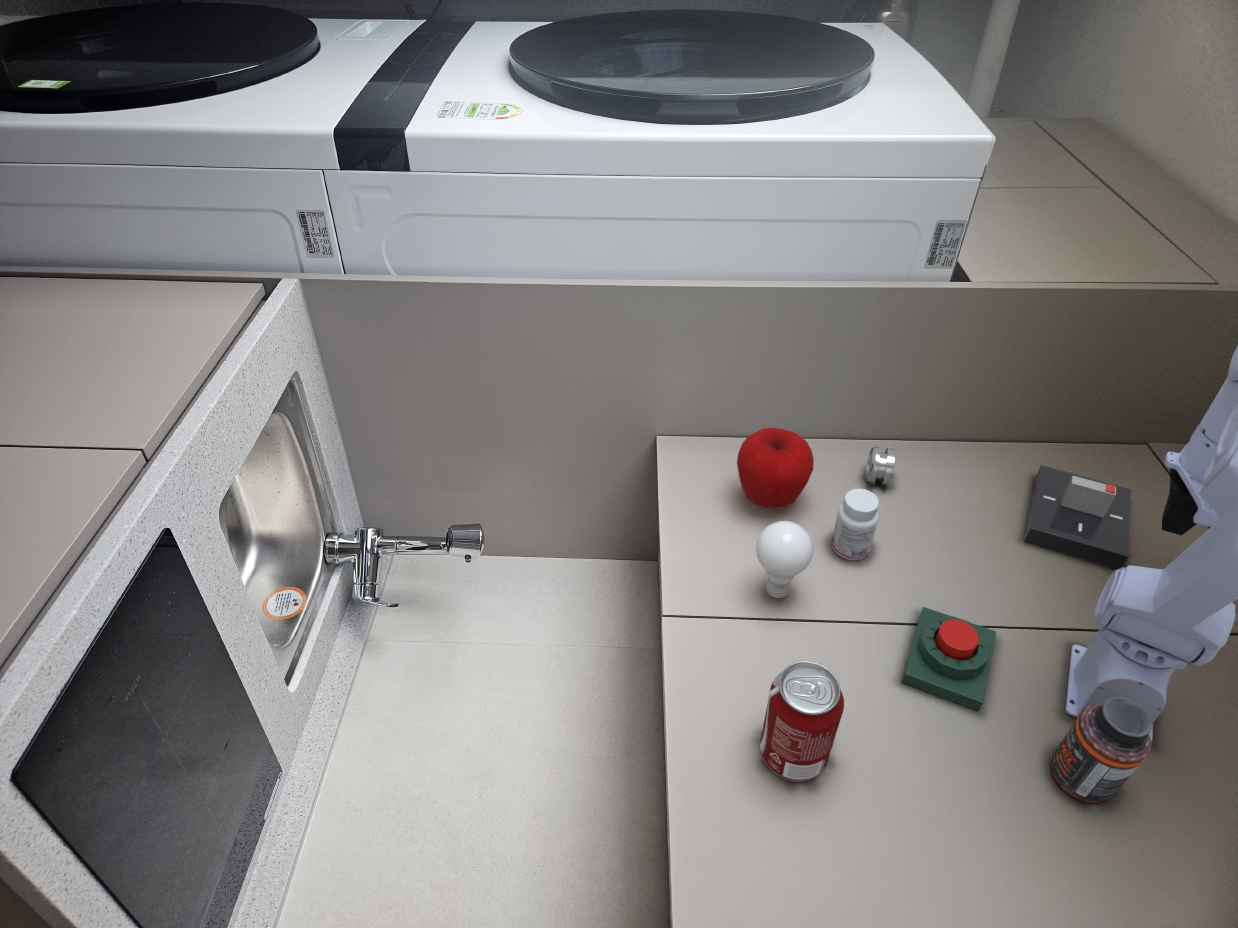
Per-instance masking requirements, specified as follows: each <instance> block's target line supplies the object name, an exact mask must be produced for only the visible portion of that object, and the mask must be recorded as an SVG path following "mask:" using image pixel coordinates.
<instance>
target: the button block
mask: <svg viewBox="0 0 1238 928" xmlns="http://www.w3.org/2000/svg"><path fill="white" fill-rule="evenodd" d="M948 620H960V621H963V622H965V623H967V624H969V625H970V626H972V627H973V628H974V629H975V631H976V632H977V634H978V637H979V642H978V645H977V647H976V649H975V651H974V653H973V655H972V656H971V657H969V658H967V659H964V660H957V659H953V658H950V657H948V656H946V655H945V654H943V653H942V652H941V651H940V650H939V648H938V646H937V644H936V636H937V633H938V631H939V629H940V626H941V625H942V624H943V623H944V622H945V621H948ZM996 636H997V631H996V630H993V629H990V628H987V627H984V626H981V625H978V624H976V623H973V622H970V621H968V620H965V619H963V618H960V617H956V616H954V615H949V614H946V613H943V612H940V611H938V610H934V609H931V608H929V607H926V606H922V609H921V611H920V613H919V617H918V620H917V624H916V627H915V631H914V635H913V638H912V642H911V645H910V649H909V653H908V657H907V660H906V664H905V667H904V671H903V675H902V679H901V683H903V684H905V685H908V686H910V687H912V688H915V689H919V690H921V691H924V692H926V693H928V694H931V695H934V696H937V697H939V698H942V699H944V700H948V701H950V702H952V703H955V704H959V705H961V706H964V707H966V708H969V709H972V710H974V711H976V712H979V711H980V709H981V708H982V706H983V704H984V700H985V695H986V689H987V683H988V678H989V673H990V668H991V664H992V663H991V662H992V657H993V651H994V646H995V641H996Z"/></svg>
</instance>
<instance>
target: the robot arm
mask: <svg viewBox="0 0 1238 928" xmlns="http://www.w3.org/2000/svg"><path fill="white" fill-rule="evenodd" d="M1164 465H1165V466H1166V467H1167V468H1169V491H1168V495H1167V499H1166V503H1165V506H1164V509H1163V513H1162V517H1161V531H1164V532H1167V533H1170V534H1174V535H1178V536H1183V535H1185V534H1187V533H1188V532H1190V530H1192V528H1194V527H1195V526H1196V525H1201V526H1205V527H1207V528H1208V529H1207V530H1206V531H1205V532H1204V533H1202V534H1201V535H1200V536H1199V537H1198V538H1197V539H1196V540H1194V541H1193V543H1191V544H1190V545H1189V546H1188V547H1187V548H1185V550H1184V551H1182V552H1181V553H1179V555H1178V556H1177V557H1176V558H1175V559H1174V560H1172V561H1171V562H1170V563H1169V564H1168V565H1167V566H1166V567H1164V569H1163V568H1153V567H1147V566H1140V565H1139V566H1138V565H1127V566H1126V567H1123V566H1122V568H1120V569H1115V570H1114V571H1112V573H1111V574H1110V576H1109V577H1108V579H1107V580H1106V583H1105V585H1104V587H1103V589H1102V590H1101V594H1100V595H1099V598H1098V601H1097V603H1096V606H1095V608H1094V613H1093V619H1094V621H1095V623H1096V626H1098V627H1099V629H1098V630H1097V632H1096V634H1095V635H1094V637H1093V638H1092V640H1091V642H1090V643H1089V645H1088V646H1087V647H1085V646H1082V645H1079V644H1073V645H1072V646H1071V648H1070V649H1071V650H1070V658H1069V659H1070V660H1069V668H1068V677H1067V679H1068V680H1067V690H1066V699H1065V708H1064V710H1065V713H1066V714H1067V715H1068V716H1071V717H1073V718H1076V719H1077V718H1078V717H1079V715H1080V714H1081V713H1082V711H1083V710H1084V709H1085V708H1087V707H1088V706H1090V705H1093V704H1097V703H1104V702H1105V701H1106V700H1107V699H1109V698H1112V697H1124V698H1127V699H1130V700H1132V701H1134V702H1136V703H1137V704H1139V705H1140V706H1141V707H1143V708H1144V709H1145V710H1146V712H1147V713H1148V714H1149V716H1150V718H1151V722H1152V729H1151V731H1150V732H1149V735H1150V739H1151V742H1153V730H1154V729H1153V728H1154V726H1153V725H1154V724H1153V723H1155V721H1156V720H1157V719H1158V717H1159V716H1160V715H1161V714H1162V713H1163V711H1164V710H1165V709H1166V706H1167V705H1166V704H1167V692H1168V685H1169V682H1170V679H1171V677H1172V675H1173V673H1174V672H1175V670H1177V669H1178V670H1181V671H1184V669H1185V668H1186V667H1187V665H1188V664H1190V665H1193V666H1195V667H1201V666H1203V665H1205V664H1209V662H1211V661H1212V660H1214V658H1215V657H1216V655H1217V654H1218V652H1219V651H1220V649H1221V648H1223V647H1224V646H1225V645H1226V644H1227V642H1228V639H1229V637H1230V634H1231V632H1232V629H1233V626H1234V624H1235V623H1234V622H1235V619H1236V615H1237V614H1236V605H1235V603H1233V602H1235V601H1237V600H1238V345H1236V348H1235V350H1234V352H1233V355H1232V357H1231V359H1230V363H1229V367H1228V372H1227V377H1226V379H1225V380H1224V382H1223V384H1222V386H1221V387H1220V389H1219V390H1218V393H1217V394H1216V396H1215V398H1214V399H1213V401H1212V402H1211V404H1210V406H1209V407H1208V409H1207V411H1206V413H1205V414H1204V415H1203V417H1202V419H1201V421H1200V423H1199V424H1197V426H1196V428H1195V429H1194V431H1193V433H1192V434H1191V436H1190V439H1189V441H1188V442H1187V444H1185V446H1184V447H1183V449H1182V450H1181V451H1180V452H1175V451H1167V453H1166V455H1165V456H1164Z"/></svg>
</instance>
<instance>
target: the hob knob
mask: <svg viewBox="0 0 1238 928" xmlns="http://www.w3.org/2000/svg"><path fill="white" fill-rule="evenodd" d="M1110 484H1111V483H1109V484H1103V483H1099V482H1095V481H1092V480H1088V479H1084V478H1080V477H1077V476H1072V478H1071V480H1070V482H1069V484H1068V486H1067V488H1066V490H1065V492H1064V494H1063V496H1062V499H1061V506H1064V507H1067V508H1071V509H1074V510H1078V511H1081V512H1085V513H1088V514H1092V515H1095V516H1099V517H1102V518H1104V516H1105V514H1106V512H1107V510H1108V509H1109V507H1110V505H1111V503H1112V501H1113V499H1114V498H1115V496H1116V487H1115V486H1114V485H1115V484H1113V485H1110Z"/></svg>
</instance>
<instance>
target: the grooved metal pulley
mask: <svg viewBox="0 0 1238 928" xmlns="http://www.w3.org/2000/svg"><path fill="white" fill-rule="evenodd" d="M895 461H896V450H895V449H894V448H885V450H884V452H881V449H880V446H873V447H872V448H871V449H870V451H869V454H868V457H867V461H866V462H867V463H866V468H865V469H866V470H865V479H866V481H867V483H870V484H875V482H876V480H880V481H879V483H880V485H882V486H890V484H891V481H892V478H893V473H894V468H895Z"/></svg>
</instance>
